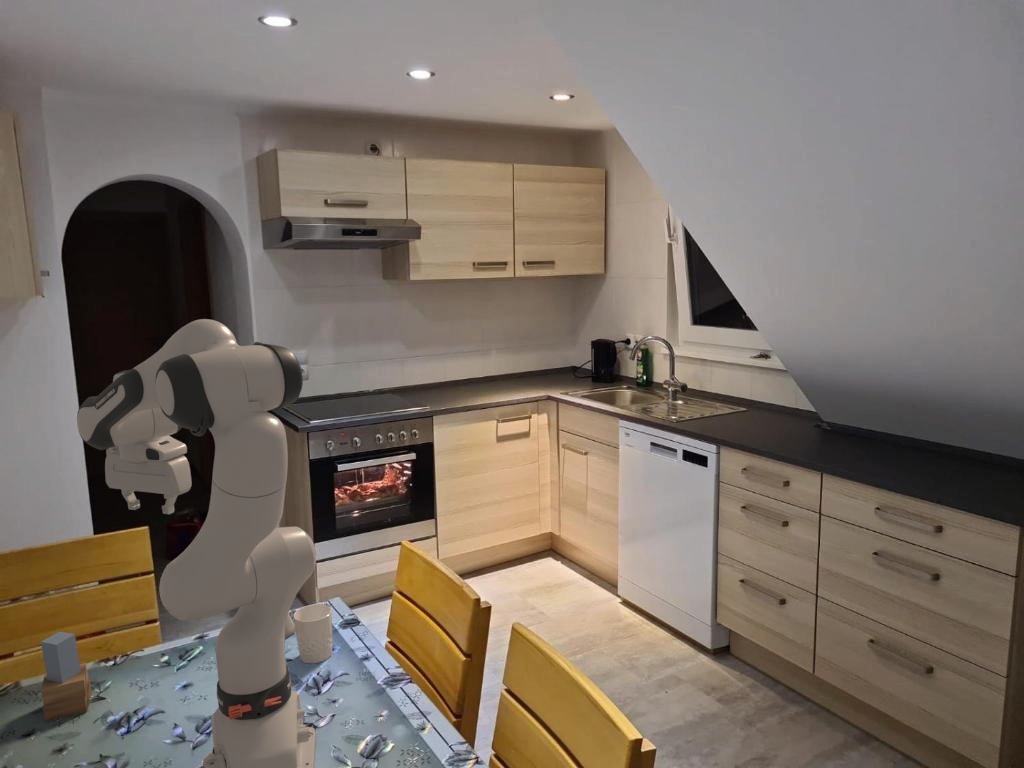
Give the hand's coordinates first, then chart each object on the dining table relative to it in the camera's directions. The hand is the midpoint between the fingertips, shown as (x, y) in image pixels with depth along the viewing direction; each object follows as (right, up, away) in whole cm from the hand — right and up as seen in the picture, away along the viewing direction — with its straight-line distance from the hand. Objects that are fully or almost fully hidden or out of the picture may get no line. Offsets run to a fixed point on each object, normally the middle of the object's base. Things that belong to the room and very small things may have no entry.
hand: (151, 511), depth 156 cm
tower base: (-12, -37, -9) cm, 40 cm away
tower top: (-12, -34, -10) cm, 37 cm away
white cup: (+33, -33, +6) cm, 47 cm away
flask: (+22, -31, +17) cm, 41 cm away
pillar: (-12, -30, -10) cm, 34 cm away
